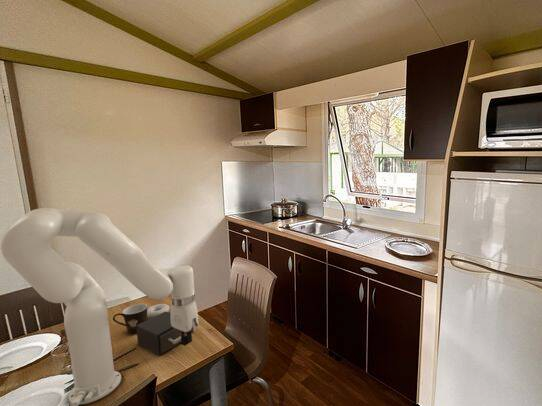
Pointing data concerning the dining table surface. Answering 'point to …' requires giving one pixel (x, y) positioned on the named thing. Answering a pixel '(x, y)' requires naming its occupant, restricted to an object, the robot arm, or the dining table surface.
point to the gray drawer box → (153, 332)
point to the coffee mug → (133, 317)
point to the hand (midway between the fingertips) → (186, 343)
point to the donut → (157, 310)
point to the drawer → (169, 339)
